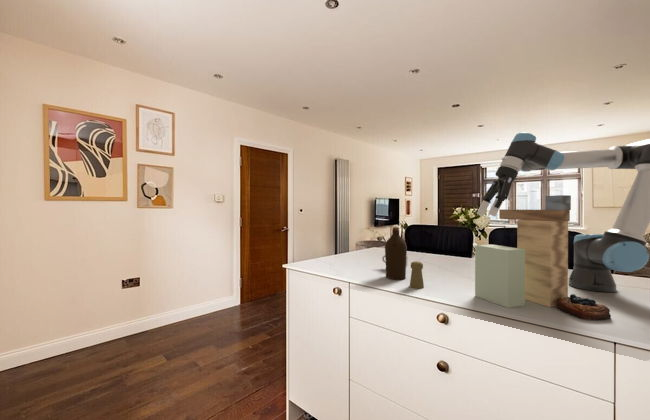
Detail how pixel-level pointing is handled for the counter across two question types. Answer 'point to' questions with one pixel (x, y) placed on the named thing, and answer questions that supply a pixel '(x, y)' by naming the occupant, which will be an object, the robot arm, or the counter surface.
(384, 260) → the teacup
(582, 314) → the pastry
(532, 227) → the oak stand
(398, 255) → the olive oil
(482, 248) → the sage green upright block
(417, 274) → the cork
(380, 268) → the counter surface
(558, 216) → the beam
